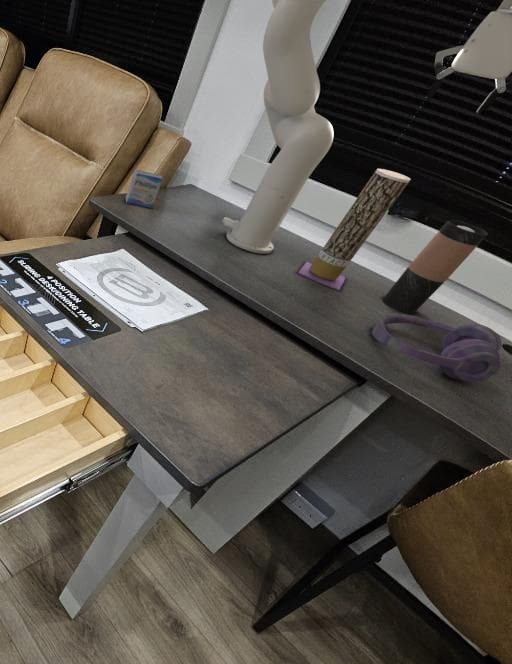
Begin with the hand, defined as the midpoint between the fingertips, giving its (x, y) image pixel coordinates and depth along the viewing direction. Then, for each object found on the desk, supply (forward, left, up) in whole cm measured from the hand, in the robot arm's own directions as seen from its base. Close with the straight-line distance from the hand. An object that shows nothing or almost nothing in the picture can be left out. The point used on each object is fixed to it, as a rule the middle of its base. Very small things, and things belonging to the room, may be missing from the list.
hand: (452, 106), depth 99 cm
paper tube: (-2, -14, -38) cm, 41 cm away
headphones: (+22, -34, -38) cm, 56 cm away
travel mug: (+16, -12, -38) cm, 43 cm away
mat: (-2, -14, -38) cm, 41 cm away
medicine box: (-55, -16, -38) cm, 69 cm away
